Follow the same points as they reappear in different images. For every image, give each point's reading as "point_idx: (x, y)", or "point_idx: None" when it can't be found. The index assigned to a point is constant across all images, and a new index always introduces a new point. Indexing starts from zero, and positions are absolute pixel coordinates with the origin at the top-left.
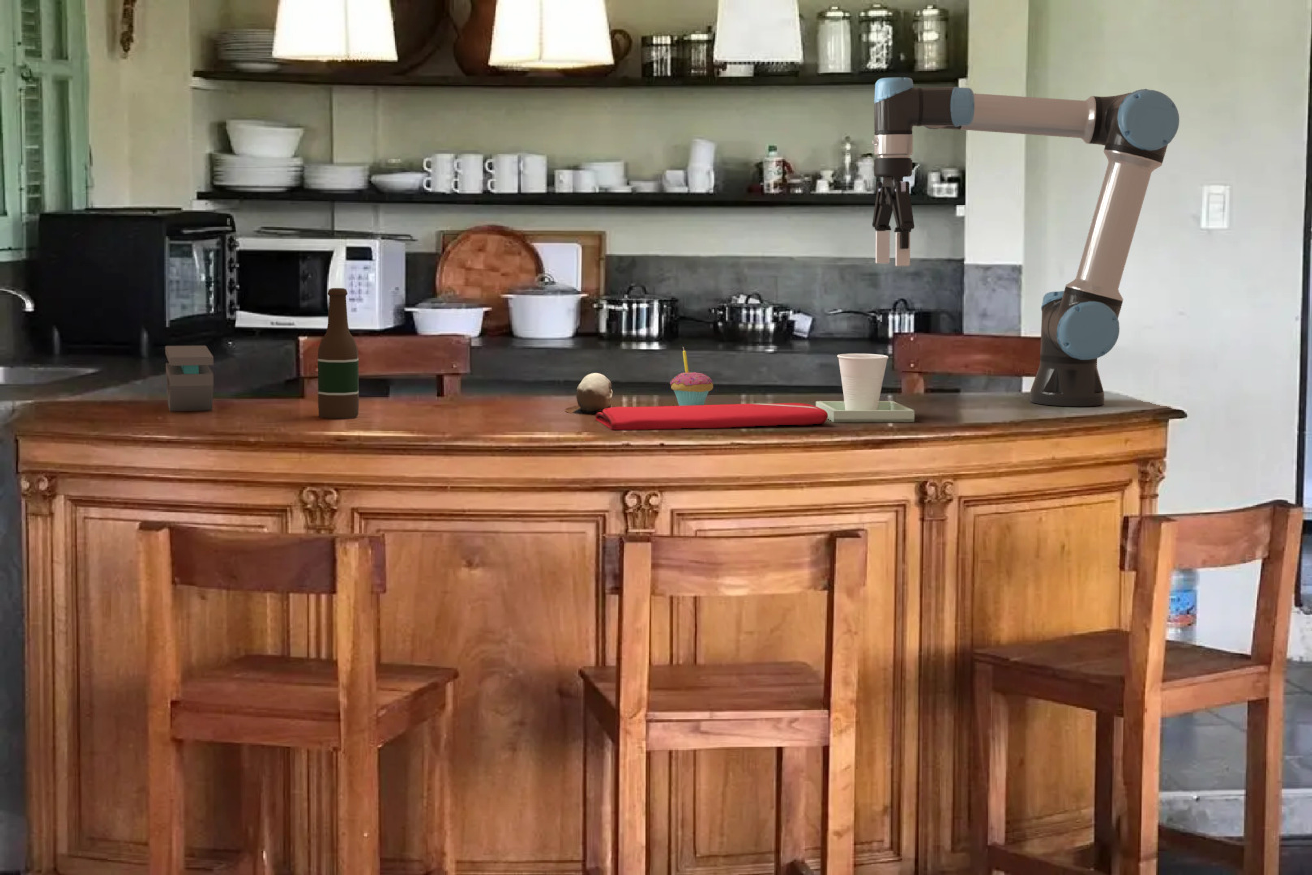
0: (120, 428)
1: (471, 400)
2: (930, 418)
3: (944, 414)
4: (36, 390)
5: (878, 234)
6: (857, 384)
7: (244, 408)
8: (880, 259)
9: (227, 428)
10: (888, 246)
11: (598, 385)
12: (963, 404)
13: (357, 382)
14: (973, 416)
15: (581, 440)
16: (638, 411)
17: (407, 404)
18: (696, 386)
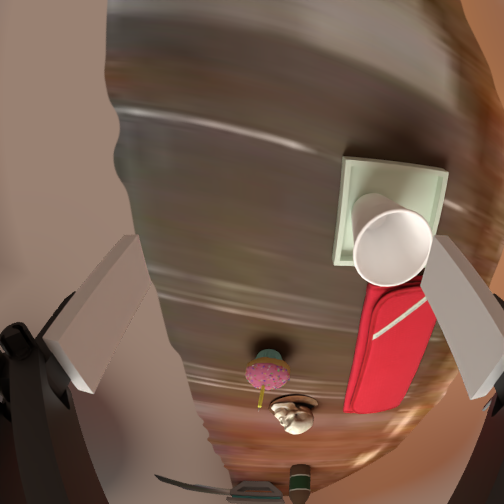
0: (322, 487)
1: (223, 438)
2: (411, 129)
3: (371, 89)
4: (203, 491)
5: (96, 374)
6: (404, 243)
7: (262, 478)
8: (142, 280)
9: (331, 478)
10: (103, 284)
11: (310, 425)
12: (239, 20)
13: (303, 479)
14: (394, 59)
15: (429, 408)
16: (381, 400)
17: (246, 453)
18: (289, 374)
